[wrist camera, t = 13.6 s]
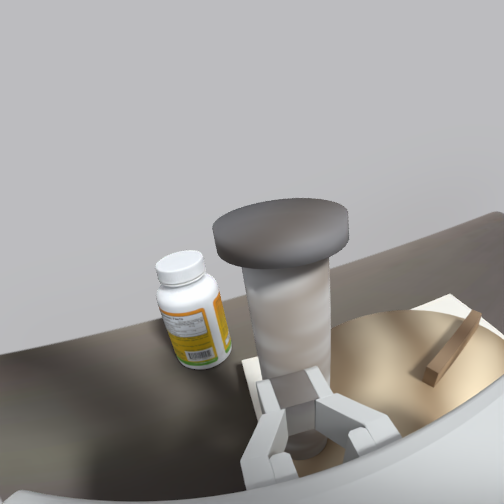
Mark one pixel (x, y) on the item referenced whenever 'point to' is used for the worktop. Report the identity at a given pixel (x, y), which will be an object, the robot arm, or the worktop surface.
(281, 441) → the robot arm
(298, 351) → the dial
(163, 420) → the worktop surface
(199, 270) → the supplement bottle
